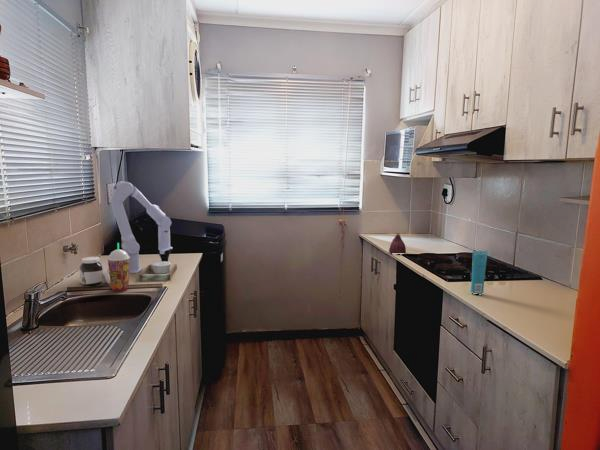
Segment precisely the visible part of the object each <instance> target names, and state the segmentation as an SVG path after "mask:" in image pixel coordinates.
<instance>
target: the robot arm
mask: <svg viewBox="0 0 600 450" xmlns="http://www.w3.org/2000/svg"><path fill="white" fill-rule="evenodd" d="M129 196H130V197H132V198H135V199H136V200H137V202H139V203H140V204H141V205H142V206H143V207H144V208H145V209H146V214H147V215H149V216H150V218H151V219H152V220H154V222H155V223H156V225H157V230H158V231H157V237H158V247H157V248H158V250H159V251H158V256H159V257H160V260H161V261H166V262H169V258H170V257H169V256H170V254H171V253H172V250H173V246H171V228H170V227H171V226H172V220H171V218H170V217H169V216H167V214H166V213H165V212H163V211H162V210H161V208H160V206H159V204H158V205H156V204H152V203H151V202H150V201H149V200H148V198H146V197H145V196H144V194H143V193H142V192H141V191H140V190H139V189H138V188H137V187H136V186H134V184H132V183H131V182H129V181H125V180H121V181H117V182H116V183H115V184H114V186H113V187H112V192H111V197H110V200H109V201H110V202H109V203H110V204H111V207H112V211H113V214H114V217H115V220H116V223H117V226H118V230H119V233H120V235H121V237H120V238H121V248H122V249H121V250H124V251H125V252H126V253H127V254H128V256H129V257H130V258H129V274H138V273H139V272H140V271H141V270H142V267H140V254H139V253H140V252H139V251H140V248H141V247H140V246H141V245H140V243H138V242H137V240H136V238H135V236H134V234H133V231H132V228H131V225H130V222H129V218H128V215H127V212H126V209H125V207H124V204H123V203H124V201H125V200H126V199H127V198H128V197H129Z"/></svg>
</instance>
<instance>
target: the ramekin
mask: <svg viewBox="0 0 600 450" xmlns="http://www.w3.org/2000/svg"><path fill="white" fill-rule="evenodd" d="M151 265H152V273H154V274H168V273H169V272H170V270H171V265H172V264H171V262H170V261H168V262H166V261H154V262H152V263H151Z"/></svg>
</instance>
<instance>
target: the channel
mask: <svg viewBox="0 0 600 450" xmlns="http://www.w3.org/2000/svg"><path fill="white" fill-rule="evenodd" d="M177 269H178V264H177V263H175V264H173V266H172V267H171V268H170V271H169V272H168V273H163V274H156V273H154V274H152V273H151V274H149V273H150V272H151V271H153V268H152V264H148V265H147V267H145V268H144V270H143V271H142V272H141V273H140V274H139V281H140V282H143V281H145V282H146V281H147V282H148V281H150V282H151V281H171V280H172V278H173V276H174V274H175V273H176V272H177Z"/></svg>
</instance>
